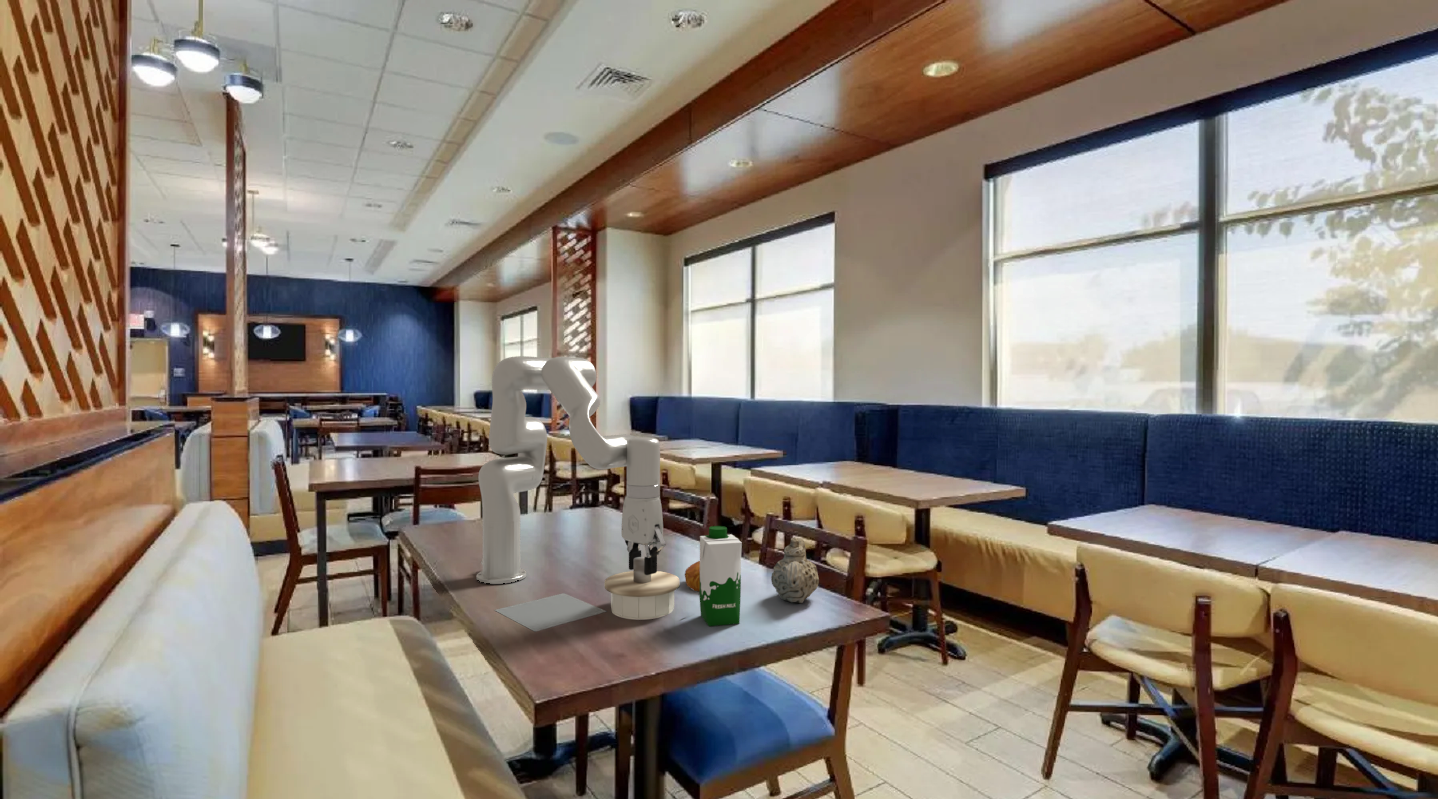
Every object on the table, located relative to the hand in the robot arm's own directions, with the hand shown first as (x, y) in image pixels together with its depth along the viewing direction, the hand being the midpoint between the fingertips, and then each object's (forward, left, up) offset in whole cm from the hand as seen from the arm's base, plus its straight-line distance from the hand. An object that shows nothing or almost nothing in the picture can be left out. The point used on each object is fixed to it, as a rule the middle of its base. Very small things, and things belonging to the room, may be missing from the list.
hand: (642, 570), depth 155 cm
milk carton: (+16, +9, -10) cm, 21 cm away
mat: (-13, -16, -9) cm, 23 cm away
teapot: (+18, +33, -10) cm, 39 cm away
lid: (0, 0, -3) cm, 3 cm away
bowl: (0, 0, -9) cm, 9 cm away
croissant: (-4, +26, -10) cm, 28 cm away
